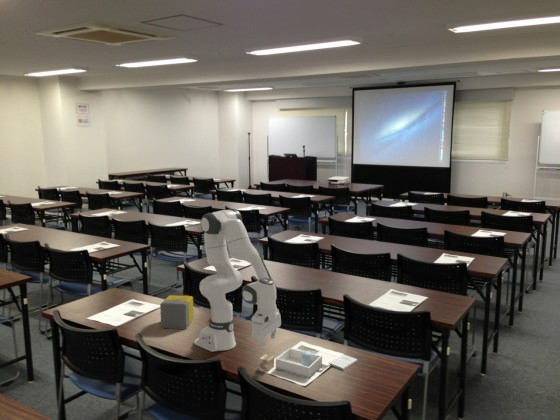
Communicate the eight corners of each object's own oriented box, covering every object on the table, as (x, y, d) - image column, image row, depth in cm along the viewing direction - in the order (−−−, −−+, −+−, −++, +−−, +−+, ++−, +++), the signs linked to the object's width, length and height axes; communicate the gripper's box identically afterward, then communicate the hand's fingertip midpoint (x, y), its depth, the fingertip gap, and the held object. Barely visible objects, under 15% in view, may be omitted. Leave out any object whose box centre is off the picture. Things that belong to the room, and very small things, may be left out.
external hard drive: (328, 365, 222) (343, 357, 232) (342, 371, 217) (357, 362, 226) (328, 362, 222) (343, 354, 231) (343, 368, 217) (357, 359, 226)
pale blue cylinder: (299, 368, 216) (299, 354, 215) (304, 364, 221) (304, 350, 220) (309, 371, 214) (309, 356, 213) (314, 366, 218) (314, 352, 217)
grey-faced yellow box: (198, 314, 288) (197, 291, 285) (186, 329, 264) (185, 304, 262) (174, 313, 289) (174, 290, 287) (160, 328, 265) (159, 303, 263)
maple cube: (259, 368, 219) (259, 358, 218) (265, 364, 223) (265, 354, 222) (268, 371, 216) (268, 360, 216) (274, 366, 221) (274, 356, 220)
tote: (275, 368, 218) (275, 358, 217) (289, 357, 230) (289, 347, 229) (309, 378, 209) (309, 368, 209) (321, 366, 221) (322, 356, 220)
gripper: (272, 305, 226) (273, 332, 228) (249, 319, 209) (250, 348, 210) (284, 307, 223) (284, 335, 225) (261, 321, 206) (261, 351, 207)
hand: (267, 341), depth 217 cm, fingers open, 8 cm apart
